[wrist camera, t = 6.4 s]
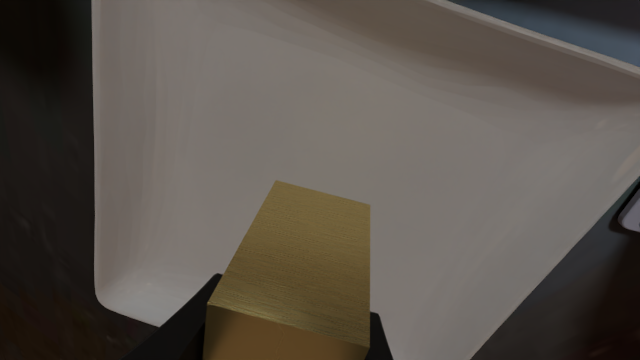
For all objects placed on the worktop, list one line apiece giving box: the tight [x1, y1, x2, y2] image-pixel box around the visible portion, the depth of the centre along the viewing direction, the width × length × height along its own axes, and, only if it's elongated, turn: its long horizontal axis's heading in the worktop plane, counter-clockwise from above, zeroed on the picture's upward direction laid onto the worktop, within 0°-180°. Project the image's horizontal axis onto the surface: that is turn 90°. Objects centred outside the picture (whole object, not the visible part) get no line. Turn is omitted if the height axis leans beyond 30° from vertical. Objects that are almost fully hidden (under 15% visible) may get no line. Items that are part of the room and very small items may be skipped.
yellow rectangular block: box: [203, 180, 370, 360], centre depth 12 cm, size 4×4×6 cm
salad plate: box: [92, 0, 640, 360], centre depth 17 cm, size 21×21×3 cm
